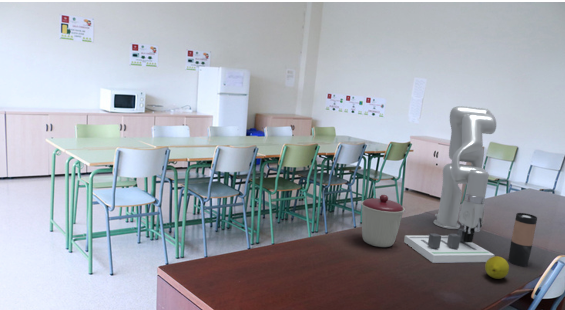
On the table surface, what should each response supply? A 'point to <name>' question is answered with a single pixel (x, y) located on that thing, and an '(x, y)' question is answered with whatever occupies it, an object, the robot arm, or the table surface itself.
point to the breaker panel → (448, 250)
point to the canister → (380, 221)
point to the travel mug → (522, 239)
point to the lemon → (497, 267)
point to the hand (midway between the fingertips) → (467, 241)
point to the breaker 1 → (434, 240)
